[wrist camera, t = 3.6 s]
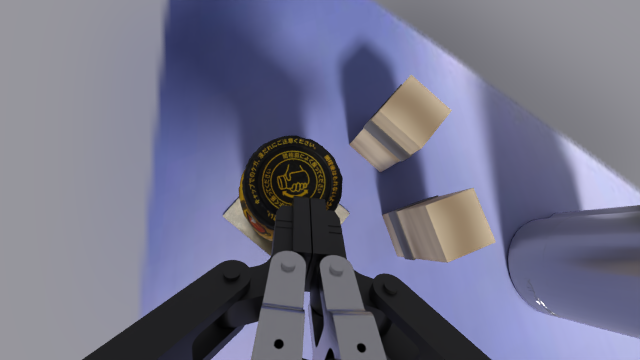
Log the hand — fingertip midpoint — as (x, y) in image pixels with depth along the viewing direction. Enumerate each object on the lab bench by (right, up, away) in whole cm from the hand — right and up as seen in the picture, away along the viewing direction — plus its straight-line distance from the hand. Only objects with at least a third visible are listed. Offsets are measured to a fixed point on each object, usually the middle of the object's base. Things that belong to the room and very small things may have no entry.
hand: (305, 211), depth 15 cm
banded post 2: (+9, -3, +14) cm, 17 cm away
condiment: (-2, -2, +13) cm, 13 cm away
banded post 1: (+6, +5, +15) cm, 17 cm away
